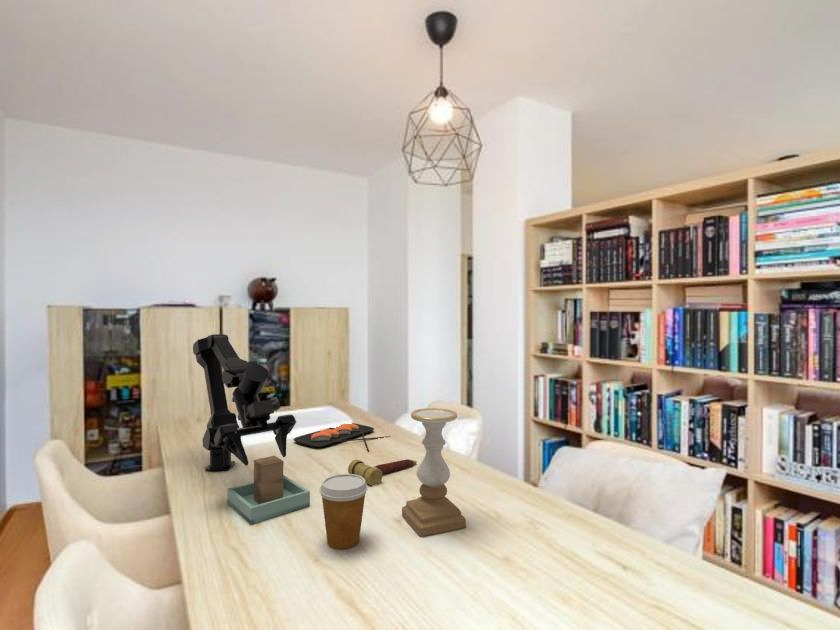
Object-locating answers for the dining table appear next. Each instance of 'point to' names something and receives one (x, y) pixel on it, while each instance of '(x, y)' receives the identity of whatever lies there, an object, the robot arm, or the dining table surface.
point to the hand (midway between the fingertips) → (266, 460)
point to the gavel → (377, 469)
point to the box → (254, 512)
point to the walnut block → (268, 479)
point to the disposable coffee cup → (343, 509)
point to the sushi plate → (335, 435)
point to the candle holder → (433, 480)
